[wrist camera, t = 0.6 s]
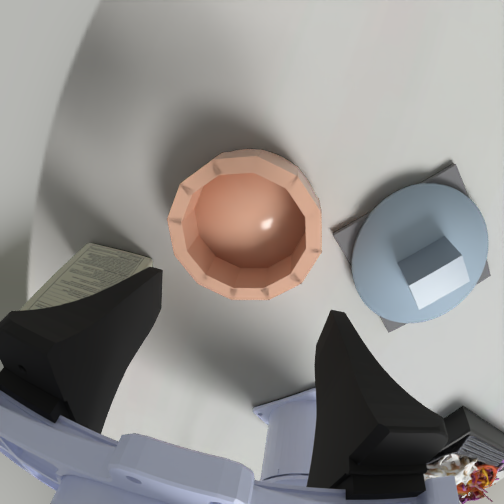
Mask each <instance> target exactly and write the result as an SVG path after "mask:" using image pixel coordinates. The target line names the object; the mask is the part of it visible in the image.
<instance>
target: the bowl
mask: <svg viewBox="0 0 504 504" xmlns="http://www.w3.org/2000/svg"><path fill="white" fill-rule="evenodd" d="M321 213H322V212H321V207H320V202H319V198H318V197H317V196H316V194H315V192H314V190H313V188H312V186H311V184H310V183H309V181H308V179H307V178H306V177H305V175H304V174H303V173H302V172H301V171H300V169H299V167H298V166H295V165H294V164H293V163H291V162H290V161H289V160H287V159H285V158H283V157H282V156H280V155H277V154H275V153H272V152H269V151H265V150H263V149H260V150H259V149H241V150H235V151H231V152H222V153H221V154H219V155H218V156H216V157H215V158H213V159H212V160H211V161H210V162H209V163H207V164H206V165H204V166H203V167H202V168H200V169H199V170H198V171H196V172H195V173H194V174H192V175H191V176H189V177H188V178H187V179H185V180H184V181H183V182H181V183H180V185H179V188H178V191H177V193H176V196H175V199H174V201H173V204H172V207H171V210H170V213H169V215H168V218H167V221H168V226H169V231H170V236H171V241H172V246H173V251H174V255H175V257H176V258H177V259H178V260H179V261H180V263H181V264H182V265H183V266H184V268H185V269H186V270H187V271H188V272H189V274H190V275H191V276H192V277H193V278H194V280H195V281H196V282H197V284H199V285H201V286H204V287H206V288H208V289H210V290H212V291H214V292H216V293H218V294H220V295H223V296H225V297H227V298H229V299H231V300H270V299H272V298H274V297H276V296H278V295H280V294H282V293H284V292H286V291H288V290H290V289H292V288H294V287H295V286H297V285H299V284H301V283H302V282H303V280H304V279H305V277H306V276H307V274H308V273H309V271H310V270H311V268H312V266H313V265H314V263H315V262H316V260H317V259H318V257H319V255H320V254H321V253H322V224H321Z"/></svg>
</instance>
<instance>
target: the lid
mask: <svg viewBox="0 0 504 504" xmlns="http://www.w3.org/2000/svg"><path fill="white" fill-rule="evenodd" d="M487 253H488V232H487V227H486V224H485V221H484V218H483V216H482V214H481V212H480V210H479V209H478V207H477V206H476V205H475V204H474V202H473V201H472V200H470V199H469V198H468V197H467V196H466V195H464V194H463V193H461V192H460V191H458V190H457V189H454V188H452V187H450V186H447V185H443V184H438V183H420V184H415V185H411V186H408V187H405V188H402V189H400V190H398V191H396V192H394V193H393V194H391V195H390V196H388V197H387V198H385V199H384V200H383V201H382V202H381V203H379V204H378V205H377V206H376V207H375V208H374V209H373V211H372V212H371V213H370V214H369V215H368V217H367V218H366V220H365V221H364V223H363V225H362V227H361V228H360V230H359V232H358V235H357V237H356V240H355V243H354V247H353V252H352V274H353V279H354V283H355V286H356V289H357V291H358V293H359V295H360V297H361V299H362V300H363V302H364V303H365V304H366V305H367V306H368V307H369V308H370V309H371V310H372V311H373V312H374V313H376V314H377V315H379V316H381V317H383V318H385V319H388V320H390V321H394V322H400V323H418V322H424V321H428V320H431V319H434V318H437V317H439V316H441V315H443V314H445V313H447V312H448V311H450V310H451V309H453V308H454V307H456V306H457V305H458V304H459V303H460V302H461V301H463V300H464V299H465V298H466V297H467V295H468V294H469V293H470V292H471V291H472V289H473V288H474V286H475V285H476V283H477V282H478V280H479V278H480V276H481V274H482V271H483V269H484V266H485V263H486V259H487Z"/></svg>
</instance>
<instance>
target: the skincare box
mask: <svg viewBox="0 0 504 504" xmlns="http://www.w3.org/2000/svg"><path fill="white" fill-rule="evenodd" d="M152 266H153V261H152V259H151V258H148V257H144V256H141V255H137V254H134V253H130V252H126V251H122V250H118V249H114V248H110V247H106V246H101V245H97V244H93V243H87V244H86V245H85V246H84V247H83V248H82V249H81V250H80V251H79V252H77V253H76V254H75V255H74V256H73V257H72V258H71V259H70V260H69V261H68V262H67V263H66V264H65V265H64V266H63V267H62V268H60V269H59V270H58V271H57V272H56V273H55V274H54V275H53V276H52V277H51V278H50V279H49V280H48V281H47V282H46V283H45V284H44V285H43V286H42V287H41V288H40V289H39V290H38V291H37V292H36V293H35V294H34V295H33V296H32V297H31V298H30V300H29V301H28V302H27V303H26V304H25V305H24V306H23V307H22V308H21V309H20V310H19V311H23V310H35V309H42V308H48V307H53V306H58V305H62V304H65V303H69V302H73V301H76V300H79V299H82V298H85V297H88V296H91V295H93V294H96V293H98V292H100V291H102V290H104V289H107V288H109V287H111V286H113V285H115V284H117V283H119V282H121V281H123V280H125V279H127V278H129V277H131V276H132V275H134V274H136V273H138V272H140V271H142V270H144V269H146V268H148V267H152Z"/></svg>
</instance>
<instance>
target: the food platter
mask: <svg viewBox="0 0 504 504" xmlns="http://www.w3.org/2000/svg"><path fill="white" fill-rule="evenodd" d="M443 420H444V423H445V427H446V431H447V434H448V441H447V443H446V445H445V447H444V448H443V449H442V450H441V451H440V452H439V453H438V454H437V455H436V456H434V457H433V458H432V459H431V460H430V461H429V462H427V463H426V464H427V472H426V473H425V474H424V481H425V480H427V479H430V478H435V477H443V476H451V475H453V476H455V481H456V486H457V492H458V497H459V500H460V502H461V503H462V504H464V503H465V502H466V501H471V500H473V501H475V500H479V499H482V498H484V497H487V496H486V495H485V494H484V493H483V492H486V493H487V491H485V490H484V489H485V488H487V487H490V486H492V485H493V484H492V483H493V481H494V480H498V479H499V478H496V477H497V476H496V473H497V472H500V471H503V470H504V433H503V432H501V431H500V430H498V429H497V428H495V427H494V426H492V425H491V424H489V423H488V422H486V421H485V420H483V419H482V418H480V417H479V416H477V415H476V414H474V413H473V412H471V411H470V410H468V409H467V408H465V407H464V406H462V407H461V408H459V409H458V410H456V411H455V412H453V413H452V414H451V415H449V416H448V417H446V418H445V419H443ZM460 453H461V454H460ZM470 457H471V458H470ZM458 461H459V462H458ZM434 463H435V464H434ZM495 478H496V479H495ZM491 484H492V485H491ZM488 485H489V486H488ZM484 486H487V487H484ZM469 492H470V493H471V494H470V493H469ZM468 493H469V494H470V496H468ZM465 494H467V496H465V498H461V497H462V496H464V495H465ZM484 495H485V496H484ZM487 498H488V497H487ZM488 499H489V498H488ZM490 501H491V502H492V500H491V499H490Z"/></svg>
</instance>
